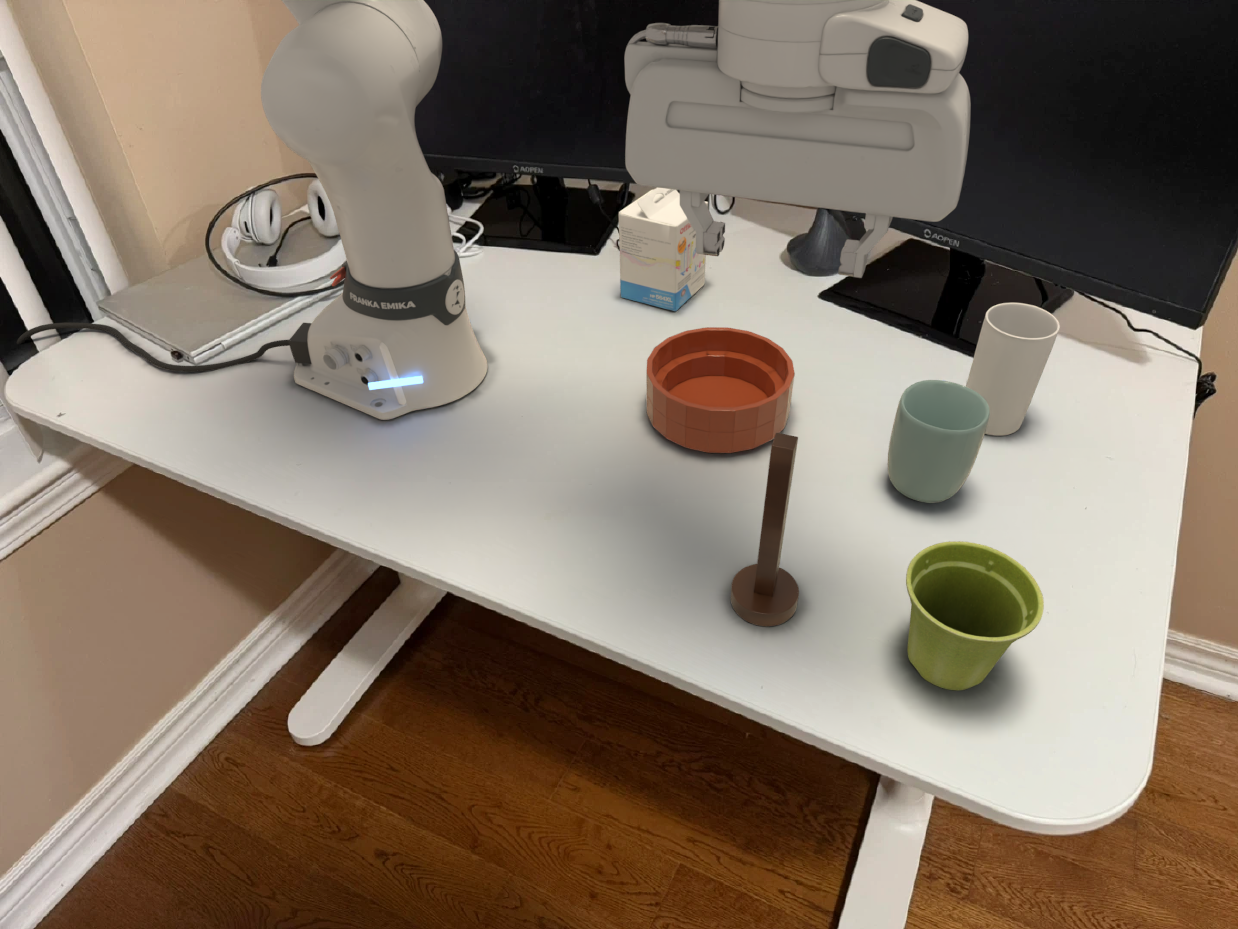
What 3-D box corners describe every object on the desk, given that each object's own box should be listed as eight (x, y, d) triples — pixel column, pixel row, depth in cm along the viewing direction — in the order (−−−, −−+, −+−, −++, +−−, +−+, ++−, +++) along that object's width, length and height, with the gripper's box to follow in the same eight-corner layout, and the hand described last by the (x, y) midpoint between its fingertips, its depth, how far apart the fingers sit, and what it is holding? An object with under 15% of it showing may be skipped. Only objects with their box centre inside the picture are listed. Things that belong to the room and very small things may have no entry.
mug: (1013, 446, 86) (1049, 346, 78) (947, 424, 89) (976, 325, 81) (1039, 396, 92) (1075, 300, 84) (977, 377, 95) (1006, 282, 87)
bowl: (626, 439, 88) (625, 393, 85) (672, 361, 99) (673, 317, 95) (769, 471, 84) (775, 423, 80) (800, 386, 95) (807, 341, 91)
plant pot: (1007, 727, 62) (1043, 657, 56) (876, 689, 65) (898, 617, 59) (1012, 631, 69) (1045, 559, 63) (893, 600, 71) (915, 528, 66)
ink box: (675, 313, 107) (677, 213, 98) (618, 297, 111) (616, 199, 102) (706, 284, 113) (710, 186, 104) (651, 269, 116) (651, 174, 107)
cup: (972, 476, 83) (999, 394, 76) (952, 525, 78) (979, 442, 71) (893, 451, 86) (913, 370, 79) (869, 497, 81) (888, 415, 74)
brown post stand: (722, 616, 71) (736, 456, 59) (739, 568, 74) (756, 410, 63) (788, 634, 69) (816, 474, 57) (803, 585, 73) (831, 425, 61)
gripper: (602, 35, 47) (614, 260, 56) (989, 60, 41) (932, 310, 50) (643, 7, 52) (648, 221, 61) (999, 26, 45) (945, 262, 54)
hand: (779, 261), depth 55 cm, fingers open, 8 cm apart
